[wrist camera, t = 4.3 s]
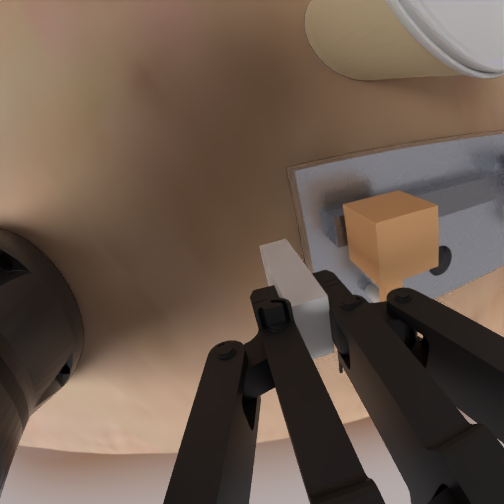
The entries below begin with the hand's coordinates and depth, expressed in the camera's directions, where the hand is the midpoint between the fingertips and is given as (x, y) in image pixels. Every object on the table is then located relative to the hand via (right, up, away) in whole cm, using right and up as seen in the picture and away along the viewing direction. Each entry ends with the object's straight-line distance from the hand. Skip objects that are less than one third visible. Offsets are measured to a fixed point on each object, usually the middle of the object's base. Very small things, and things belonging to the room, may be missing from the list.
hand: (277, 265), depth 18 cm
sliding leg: (+6, +1, +3) cm, 7 cm away
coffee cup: (+6, +16, +1) cm, 17 cm away
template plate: (+15, +4, +6) cm, 17 cm away
